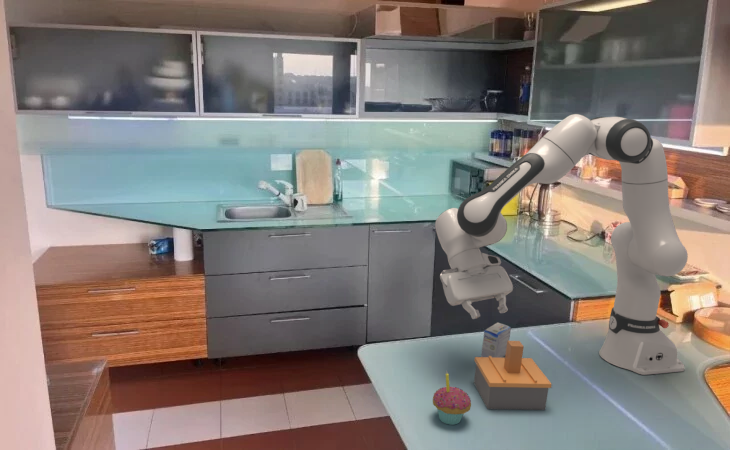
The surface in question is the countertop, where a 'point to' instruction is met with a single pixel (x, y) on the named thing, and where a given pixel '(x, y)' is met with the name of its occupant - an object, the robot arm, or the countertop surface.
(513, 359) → the lid
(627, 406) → the countertop surface
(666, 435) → the countertop surface
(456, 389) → the cupcake
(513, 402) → the tub
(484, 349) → the medicine box
